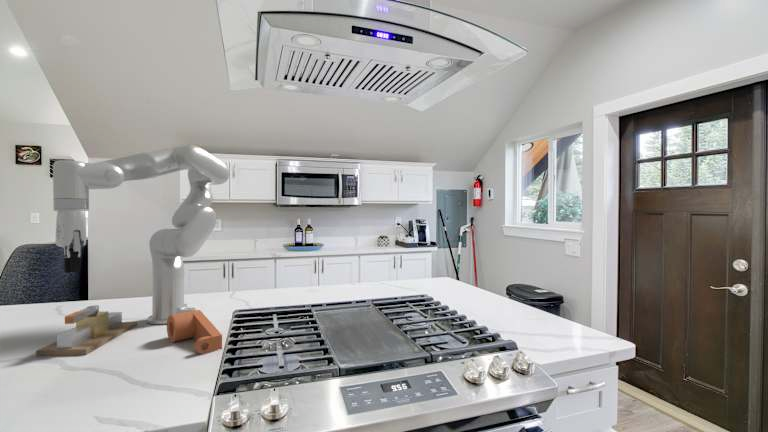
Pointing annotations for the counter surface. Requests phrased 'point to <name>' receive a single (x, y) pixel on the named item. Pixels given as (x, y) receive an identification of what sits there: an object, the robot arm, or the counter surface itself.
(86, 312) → the lever
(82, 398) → the counter surface
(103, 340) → the walnut board
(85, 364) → the counter surface
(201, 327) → the crank
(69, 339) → the valve body
